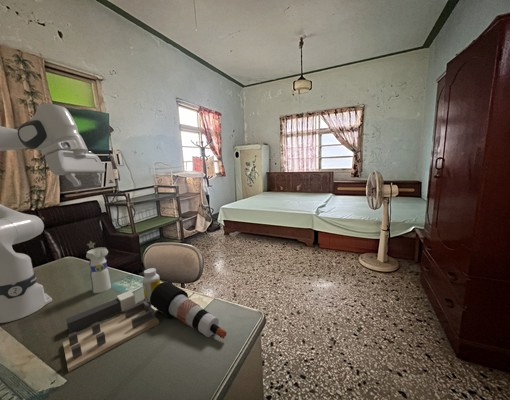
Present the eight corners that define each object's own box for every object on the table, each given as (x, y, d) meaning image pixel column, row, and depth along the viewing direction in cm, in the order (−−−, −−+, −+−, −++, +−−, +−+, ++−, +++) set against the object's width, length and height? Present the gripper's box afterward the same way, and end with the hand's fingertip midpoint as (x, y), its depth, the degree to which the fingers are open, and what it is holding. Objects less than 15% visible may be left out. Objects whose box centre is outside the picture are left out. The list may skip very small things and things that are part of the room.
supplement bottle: (164, 293, 97) (161, 266, 95) (158, 302, 90) (154, 273, 89) (149, 294, 97) (145, 267, 95) (142, 303, 90) (138, 274, 88)
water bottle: (114, 288, 104) (107, 238, 100) (92, 295, 98) (84, 242, 94) (111, 282, 110) (104, 234, 106) (90, 288, 104) (82, 238, 100)
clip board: (63, 345, 70) (60, 333, 69) (144, 307, 87) (143, 298, 87) (68, 372, 60) (65, 358, 59) (158, 323, 78) (157, 312, 77)
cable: (219, 358, 68) (208, 344, 62) (157, 311, 86) (145, 297, 80) (237, 327, 74) (229, 312, 68) (176, 290, 92) (166, 276, 87)
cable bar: (67, 328, 78) (65, 315, 77) (131, 300, 93) (130, 290, 92) (69, 335, 74) (67, 322, 73) (135, 305, 89) (134, 295, 88)
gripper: (87, 154, 88) (101, 186, 89) (35, 149, 67) (55, 190, 69) (100, 149, 87) (115, 181, 89) (53, 142, 67) (73, 183, 68)
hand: (89, 185), depth 79 cm, fingers open, 8 cm apart
